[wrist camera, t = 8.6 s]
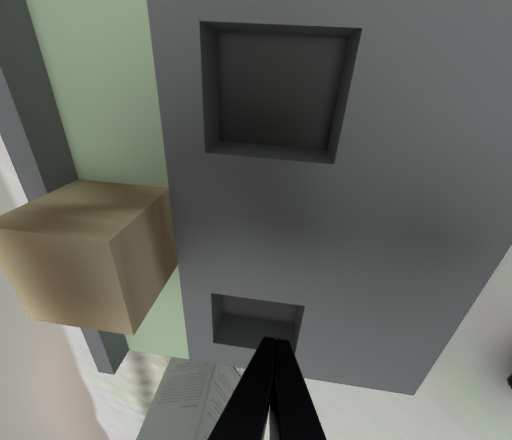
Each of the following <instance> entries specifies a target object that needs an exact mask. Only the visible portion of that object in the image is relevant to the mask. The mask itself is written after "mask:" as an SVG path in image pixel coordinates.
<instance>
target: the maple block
mask: <svg viewBox="0 0 512 440" xmlns="http://www.w3.org/2000/svg"><path fill="white" fill-rule="evenodd" d="M0 265H1V267H2V269H3V270H4V272H5V274H6V276H7V278H8V280H9V281H10V283H11V285H12V287H13V289H14V291H15V292H16V294H17V296H18V298H19V300H20V302H21V303H22V305H23V307H24V309H25V311H26V313H27V314H28V316H29V318H30V319H31V320H36V321H43V322H49V323H56V324H62V325H68V326H75V327H81V328H88V329H94V330H100V331H107V332H113V333H120V334H126V335H133V336H134V335H135V333H136V331H137V330H138V328H139V326H140V325H141V323H142V322H143V320H144V318H145V317H146V315H147V314H148V312H149V310H150V309H151V307H152V306H153V304H154V302H155V301H156V299H157V298H158V296H159V294H160V293H161V291H162V289H163V288H164V286H165V285H166V283H167V281H168V280H169V278H170V277H171V275H172V273H173V272H174V270H175V269H176V267H177V265H178V261H177V252H176V244H175V235H174V227H173V218H172V210H171V201H170V193H169V188H160V187H151V186H141V185H131V184H122V183H112V182H102V181H93V180H83V179H78V180H76V181H73V182H71V183H69V184H67V185H65V186H63V187H61V188H59V189H56V190H54V191H52V192H50V193H48V194H46V195H44V196H41V197H39V198H37V199H35V200H33V201H31V202H29V203H27V204H24V205H22V206H20V207H18V208H16V209H14V210H12V211H10V212H7V213H5V214H3V215H1V216H0Z"/></svg>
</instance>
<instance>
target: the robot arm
mask: <svg viewBox="0 0 512 440" xmlns="http://www.w3.org/2000/svg"><path fill="white" fill-rule="evenodd" d="M508 384H509V386H510V387H511V389H512V379H511V380H510V381H509V382H508ZM269 406H270V410H269ZM268 413H269V424H270V440H326V437H325V434H324V431H323V429H322V426H321V423H320V421H319V418H318V415H317V413H316V410H315V407H314V405H313V402H312V399H311V397H310V394H309V391H308V389H307V386H306V383H305V381H304V378H303V375H302V373H301V370H300V367H299V365H298V362H297V359H296V357H295V354H294V351H293V349H292V346H291V343H290V341H289V340H288V339H284V338H277V339H276V338H275V337H270V336H264V337H263V338H262V340H261V342H260V344H259V346H258V347H257V349H256V351H255V353H254V355H253V357H252V358H251V360H250V362H249V364H248V366H247V368H246V369H245V371H244V373H243V375H242V377H241V379H240V380H239V382H238V384H237V386H236V388H235V390H234V391H233V393H232V395H231V397H230V399H229V401H228V402H227V404H226V406H225V408H224V410H223V412H222V413H221V415H220V417H219V419H218V421H217V423H216V424H215V426H214V428H213V430H212V432H211V434H210V435H209V437H208V439H207V440H263V439H264V434H265V429H266V424H267V419H268Z"/></svg>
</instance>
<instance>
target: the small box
mask: <svg viewBox="0 0 512 440" xmlns="http://www.w3.org/2000/svg"><path fill="white" fill-rule="evenodd" d="M240 379H241V377H240V376H239V375H238V373H237V372H236V370H235V369H234V368H233V366H227V365H221V364H214V363H208V362H202V361H196V360H190V359H183V358H177V357H171V359H170V361H169V364H168V366H167V368H166V371H165V373H164V375H163V378H162V380H161V382H160V385H159V387H158V389H157V392H156V394H155V396H154V399H153V401H152V404H151V406H150V408H149V411H148V413H147V415H146V418H145V420H144V422H143V425H142V427H141V430H140V432H139V434H138V437H137V439H136V440H207V439H208V437H209V435H210V434H211V432H212V430H213V428H214V426H215V424H216V423H217V421H218V419H219V417H220V415H221V413H222V412H223V410H224V408H225V406H226V404H227V402H228V401H229V399H230V397H231V395H232V393H233V391H234V390H235V388H236V386H237V384H238V382H239V380H240Z"/></svg>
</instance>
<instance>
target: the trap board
mask: <svg viewBox="0 0 512 440" xmlns="http://www.w3.org/2000/svg"><path fill="white" fill-rule="evenodd" d="M0 134H1V137H2V139H3V142H4V144H5V147H6V149H7V151H8V154H9V156H10V159H11V161H12V163H13V166H14V168H15V171H16V173H17V176H18V178H19V180H20V183H21V185H22V188H23V190H24V192H25V195H26V197H27V200H28V202H31V201H33V200H35V199H37V198H39V197H41V196H44V195H46V194H48V193H50V192H52V191H54V190H56V189H59V188H61V187H63V186H65V185H67V184H69V183H71V182H73V181H76V180H78V179H83V180H93V181H102V182H112V183H122V184H131V185H141V186H151V187H160V188H169V193H170V201H171V210H172V218H173V227H174V235H175V244H176V252H177V261H178V265H177V267H176V269H175V270H174V272H173V273H172V275H171V277H170V278H169V280H168V281H167V283H166V285H165V286H164V288H163V289H162V291H161V293H160V294H159V296H158V298H157V299H156V301H155V302H154V304H153V306H152V307H151V309H150V310H149V312H148V314H147V315H146V317H145V318H144V320H143V322H142V323H141V325H140V326H139V328H138V330H137V331H136V333H135V335H134V336H133V335H126V334H120V333H113V332H107V331H100V330H94V329H88V328H81V327H80V328H81V330H82V332H83V335H84V337H85V340H86V342H87V345H88V347H89V349H90V352H91V354H92V357H93V359H94V361H95V364H96V366H97V369H98V371H99V372H102V373H108V374H115V372H116V371H117V369H118V367H119V366H120V364H121V362H122V361H123V359H124V357H125V356H126V354H127V352H128V351H129V350H133V351H140V352H146V353H152V354H158V355H165V356H171V357H177V358H183V359H190V360H196V361H202V362H208V363H214V364H221V365H227V366H233V367H239V368H247V366H248V364H249V362H250V360H251V358H252V357H253V355H254V353H255V351H256V349H257V347H258V346H259V344H260V342H261V340H262V338H263V337H264V336H270V337H275V338H276V339H277V338H284V339H288V340H289V341H290V343H291V346H292V349H293V351H294V354H295V357H296V359H297V362H298V365H299V367H300V370H301V373H302V375H303V378H308V379H314V380H321V381H327V382H333V383H339V384H345V385H352V386H358V387H364V388H370V389H377V390H383V391H389V392H395V393H402V394H408V395H414V394H415V393H416V391H417V390H418V388H419V386H420V385H421V383H422V382H423V380H424V379H425V377H426V376H427V374H428V373H429V371H430V370H431V368H432V366H433V365H434V363H435V362H436V360H437V359H438V357H439V356H440V354H441V353H442V351H443V349H444V348H445V346H446V345H447V343H448V342H449V340H450V339H451V337H452V336H453V334H454V333H455V331H456V329H457V328H458V326H459V325H460V323H461V322H462V320H463V319H464V317H465V316H466V314H467V312H468V311H469V309H470V308H471V306H472V305H473V303H474V302H475V300H476V299H477V297H478V296H479V294H480V292H481V291H482V289H483V288H484V286H485V285H486V283H487V282H488V280H489V279H490V277H491V275H492V274H493V272H494V271H495V269H496V268H497V266H498V265H499V263H500V262H501V260H502V259H503V257H504V255H505V254H506V252H507V251H508V249H509V248H510V246H511V245H512V0H0Z"/></svg>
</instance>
